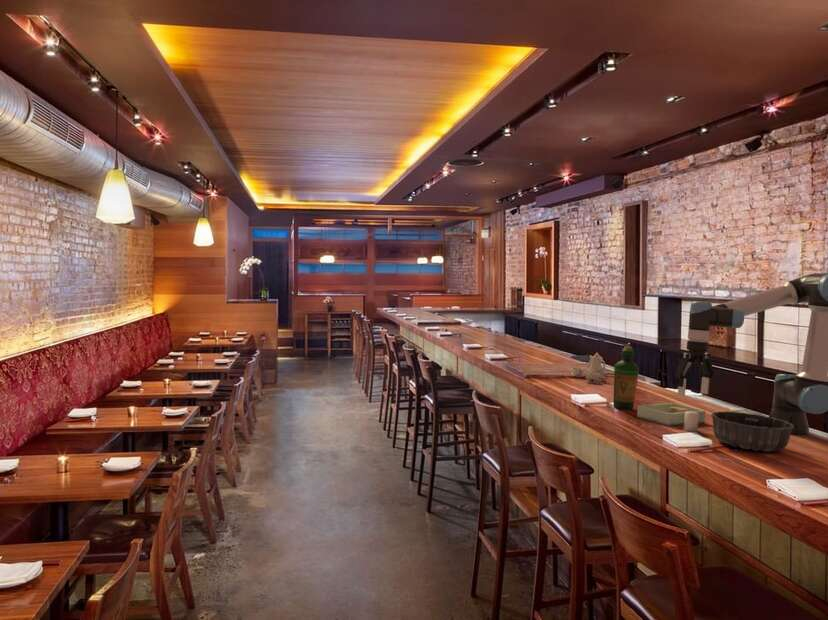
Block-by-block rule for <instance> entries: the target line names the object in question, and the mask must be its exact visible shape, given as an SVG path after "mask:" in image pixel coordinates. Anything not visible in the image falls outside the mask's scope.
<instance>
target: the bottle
mask: <svg viewBox="0 0 828 620" xmlns="http://www.w3.org/2000/svg"><path fill="white" fill-rule="evenodd" d="M632 348H633V346H624V347H623V349H622V350H621V353H620V354H621V355H622V356H621V357H622V359H621V360H619V361H617V362H616V363H615V364H614V366H613V407H614V409H616V410H617V409H618V410H622V411H623V410H624V411H631V410H633V409H634V407H635V399H636V393H637V386H638V378H639V372H640V367H639V366H638V364H637V363H636V362H635V361H633V356H634V355H635V353H634V350H633V349H632Z"/></svg>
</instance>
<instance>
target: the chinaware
mask: <svg viewBox="0 0 828 620" xmlns="http://www.w3.org/2000/svg"><path fill="white" fill-rule="evenodd" d="M589 357H590V358H589V361H588V364H587V371H586V368H584V367H583V368H582V367H577V366H576V367H574V366H572V367H570V369H571V371H572V375H574V378H581V377H582V376H583V375H585V378H586V380H587V381H588V383H589V384H596V382H603V381H604V379H605V378H606V375H605V372H604V370H605V368H606V363H605V360H603V359H604V358H603V357H602V356H600V354H599V353H598V352H596V353H595V354H594V355H593V356H592V355H591V354H590V355H589ZM602 364H603V367H602Z"/></svg>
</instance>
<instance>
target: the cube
mask: <svg viewBox="0 0 828 620" xmlns="http://www.w3.org/2000/svg"><path fill="white" fill-rule="evenodd" d="M687 410H688V409H685V408H681V407H669V413H680V412H685V411H687Z"/></svg>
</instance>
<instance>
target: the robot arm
mask: <svg viewBox="0 0 828 620" xmlns="http://www.w3.org/2000/svg"><path fill="white" fill-rule="evenodd" d="M803 303H807V307H808V308H809V309H810V311H811V312H810V318H809V324H808V329H807V335H806V336H807V337H806V341H805V347H804V352H803V358H802V364H801V370H800V371H799V372H797V373H796V374H787V373H778V374H776V375H775V378H774V381H773V382H774V383H773V384H774V386H773V398H772V399H773V400H772V408H771V411H770V413H769V415H768V417H772V418H775V419H779V420H783V421H786V422H788V423H791V424H793V426H794V428H793V429H792V431H791V434H792V435H808V434H810V433H809V432H810V426H809V423H808V419H807V415H806V414H812V415H813V414H814V415H821V414H824V413H826V412H828V272H820V273H819V272H818V273H817V272H815V273H814V272H813V273H810V274H806V275H803V276H801V277H797V278H794V279H792V280H789V281H785V282H784V283H783V285H781V286H777V287H774V288H770V289H767V290H763V291H760V292H757V293H753V294H750V295H746V296H743V297H740V298H737V299H733V300H729V301H725V302H723V303H719V304H716V305H712V304H713V303H712V302H711V301H698V300H696V301H695V300H694V301H692V302H691V304H690V308H689V315H688V317H689V319H688V332H687V339H688V340H687V342H686V350H687V351H688V352H682V354H681V358H680V360H679V364H678V366H677V368H676V371H675V373H674V376H675V377H676V378H677V379H678V381H677V386H678V387H677V395H680V396H683V397H684V396H686V387H687V379H686V377H687V375H688V373H690V371H691V369H692V368H693V367H694V366H695V365H698V367H699V369H700V371H701V372H702V375H703V376H702V377H701V385H700V394H702V395H703V394H704V395H708V394H709V388H710V379H712V378H713V377H714V376H715V373H714V368H713V365H712V364H713V363H712V360H711V359H712V358H711V353H709V352H708V350H709V348H708V347H709V343H708V341H709V340H710V330H711V329H710V328H712V327H713V328H714V327H715V328H729V329H740V328H741V327H743V325H744V322H745V317H747V316H750V315H754V314H758V313H760V312H764V311H767V310H771V309H775V308H778V307H782V306H785V305H788V304H790V305H793V306H794V305H797V304H803Z"/></svg>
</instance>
